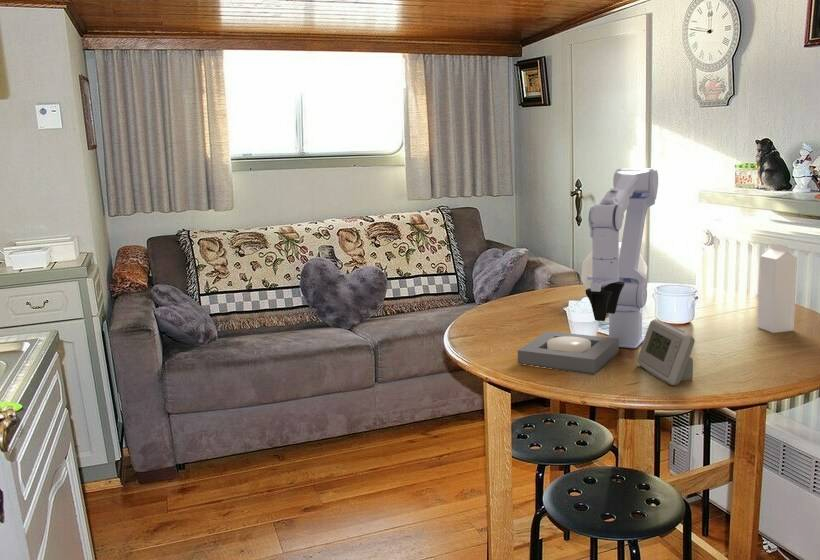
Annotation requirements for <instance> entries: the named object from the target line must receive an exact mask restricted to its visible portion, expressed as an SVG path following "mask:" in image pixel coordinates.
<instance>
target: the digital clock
mask: <svg viewBox="0 0 820 560" xmlns="http://www.w3.org/2000/svg"><path fill="white" fill-rule="evenodd" d="M644 337H645V338H644V341H643V342H642V343H641V347H640V349H639V353H638V355H637V357H636V363H637V364H638V365H639V366H640V367H642V368H643V369H644V370H645V371H646V372H648V373H650V374H651V375H653V376H655V377H656V378H658V379H659V380H661V381H662V382H664V383H667V384H669V385H670V386H677V385H679V384H680V382H681V381H689V380H693V378H694V376H693V375H694V361H693V358H692V357H691V354H692V350H693V349H694V345H695V341H696V340H695V338H694V336H692V335H690V334H689V333H687V332H685V331H684V330H682V329H680V328H678V327H676V326H673V325H672V324H670V323H667V322H663V321H661V320H660V319H655V318H654V319H652V320H651V321H650V323H649V325H648V327H647V330H646V333H645V336H644Z"/></svg>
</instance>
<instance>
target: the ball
mask: <svg viewBox="0 0 820 560" xmlns="http://www.w3.org/2000/svg"><path fill="white" fill-rule="evenodd" d="M621 243H622V241H619V256H620V249H621ZM637 271H639V272H640V273H641V274H642V275H643V276H644V277H645V278H646V279H647V275H648V265H647V263H646V261H645V259H644V257H643V255H642V254H640V256H639V263H638V269H637ZM588 276H592V250H591V251H590V252H589V253H588V255H587V256H586V257H585V258H584V260H583V261H582V265H581V277H580V281H581V282H582V284H583V285H584V288H585V290H586V289H588V288H589V289H591V282H592V280H587V277H588Z"/></svg>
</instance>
